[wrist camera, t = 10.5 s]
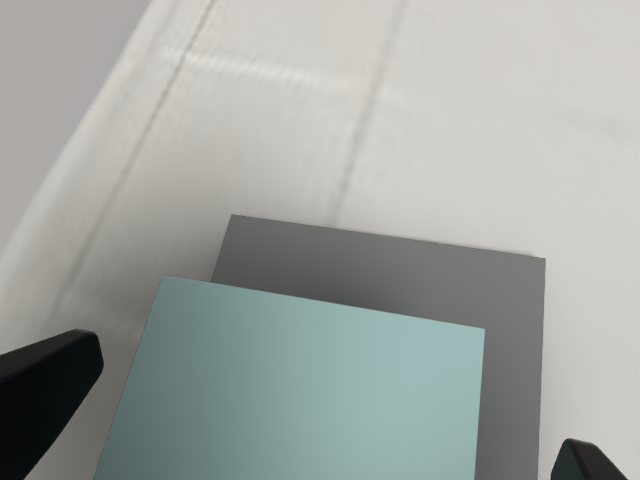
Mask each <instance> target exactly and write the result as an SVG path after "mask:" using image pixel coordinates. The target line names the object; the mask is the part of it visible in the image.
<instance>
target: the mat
mask: <svg viewBox="0 0 640 480" xmlns="http://www.w3.org/2000/svg"><path fill="white" fill-rule="evenodd" d="M545 263H546V259H545V258H538V257H531V256H524V255H517V254H510V253H503V252H496V251H488V250H481V249H474V248H467V247H460V246H453V245H446V244H439V243H431V242H424V241H417V240H410V239H403V238H396V237H389V236H382V235H374V234H367V233H360V232H353V231H346V230H339V229H332V228H324V227H317V226H310V225H303V224H296V223H289V222H282V221H275V220H267V219H260V218H253V217H246V216H239V215H231V219H230V222H229V225H228V228H227V232H226V235H225V238H224V241H223V244H222V248H221V251H220V254H219V257H218V261H217V264H216V267H215V270H214V273H213V277H212V280H211V283H216V284H222V285H228V286H234V287H240V288H246V289H252V290H258V291H264V292H270V293H275V294H281V295H287V296H293V297H299V298H305V299H311V300H317V301H323V302H329V303H335V304H340V305H346V306H352V307H358V308H364V309H370V310H376V311H382V312H388V313H394V314H400V315H405V316H411V317H417V318H423V319H429V320H435V321H441V322H447V323H453V324H459V325H464V326H470V327H476V328H482V329H485V336H484V350H483V364H482V378H481V391H480V405H479V419H478V433H477V447H476V461H475V475H474V480H537V477H538V450H539V424H540V397H541V370H542V343H543V317H544V290H545Z"/></svg>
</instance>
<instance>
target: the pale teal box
mask: <svg viewBox="0 0 640 480" xmlns="http://www.w3.org/2000/svg"><path fill="white" fill-rule="evenodd" d="M484 336H485V329H482V328H476V327H470V326H464V325H459V324H453V323H447V322H441V321H435V320H429V319H423V318H417V317H411V316H405V315H400V314H394V313H388V312H382V311H376V310H370V309H364V308H358V307H352V306H346V305H340V304H335V303H329V302H323V301H317V300H311V299H305V298H299V297H293V296H287V295H281V294H275V293H270V292H264V291H258V290H252V289H246V288H240V287H234V286H228V285H222V284H216V283H211V282H205V281H199V280H193V279H187V278H181V277H175V276H169V275H163V276H162V278H161V281H160V284H159V287H158V290H157V293H156V296H155V299H154V302H153V305H152V308H151V311H150V314H149V317H148V319H147V322H146V325H145V328H144V331H143V334H142V337H141V340H140V343H139V346H138V349H137V352H136V355H135V358H134V360H133V363H132V366H131V369H130V372H129V375H128V378H127V381H126V384H125V387H124V390H123V393H122V396H121V398H120V401H119V404H118V407H117V410H116V413H115V416H114V419H113V422H112V425H111V428H110V431H109V434H108V437H107V439H106V442H105V445H104V448H103V451H102V454H101V457H100V460H99V463H98V466H97V469H96V472H95V475H94V478H93V480H474V475H475V461H476V447H477V433H478V419H479V405H480V391H481V378H482V364H483V350H484Z"/></svg>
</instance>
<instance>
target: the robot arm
mask: <svg viewBox="0 0 640 480" xmlns="http://www.w3.org/2000/svg"><path fill="white" fill-rule="evenodd" d="M103 367H104V361H103V357H102V352H101V347H100V343H99V338H98V336H97V335H96V333H94V332H91V331H87V330H82V329H74V330H71V331H68V332H65V333H62V334H59V335H57V336H54V337H51V338H48V339H45V340H42V341H39V342H37V343H34V344H31V345H28V346H25V347H22V348H19V349H17V350H14V351H11V352H8V353H5V354H2V355H0V480H24V479H25V478H26V476H27V475H28V474H29V473H30V471H31V470H32V469H33V468H34V466H35V465H36V464H37V463H38V462H39V460H40V459H41V458H42V457H43V455H44V454H45V453H46V452H47V450H48V449H49V448H50V447H51V445H52V444H53V443H54V442H55V440H56V439H57V437H58V436H59V435H60V433H61V432H62V430H63V429H64V428H65V426H66V425H67V423H68V422H69V420H70V419H71V417H72V416H73V414H74V413H75V411H76V410H77V409H78V407H79V406H80V404H81V403H82V401H83V400H84V398H85V397H86V395H87V394H88V392H89V391H90V390H91V388H92V387H93V385H94V384H95V382H96V381H97V379H98V378H99V376H100V375H101V373H102V370H103ZM551 480H628V479H627V478H626V477H625V476H624V475H623V474H622V473H621V471H620V470H619V469H618V468H617V467H616V466H615V465H614V464H613V463H612V462H611V461H610V460H609V459H608V457H607V456H606V455H605V454H604V453H603V452H602V451H601V450H600V449H599V448H598V447H597V446H596V445H594V444H592V443H589V442H584V441H580V440H576V439H571V438H570V439H566V440H565V441H564V442H563V444H562V446H561V449H560V451H559V454H558V456H557V459H556V461H555V464H554V467H553V469H552V472H551Z"/></svg>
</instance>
